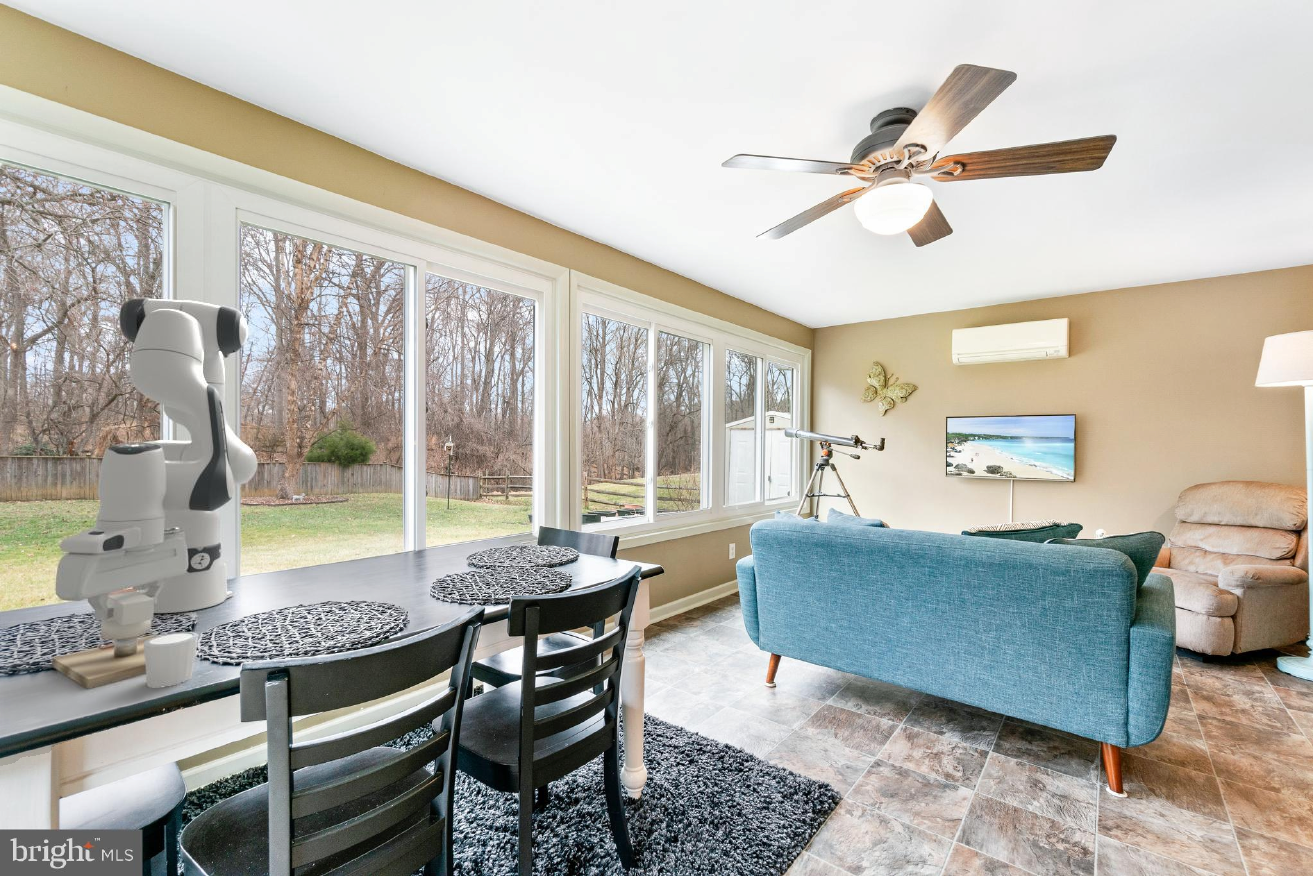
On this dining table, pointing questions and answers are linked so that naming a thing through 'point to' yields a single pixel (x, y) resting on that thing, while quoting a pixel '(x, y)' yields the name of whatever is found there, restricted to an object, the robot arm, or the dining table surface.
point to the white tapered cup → (170, 658)
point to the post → (125, 647)
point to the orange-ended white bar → (127, 614)
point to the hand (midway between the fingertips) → (127, 612)
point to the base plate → (101, 664)
